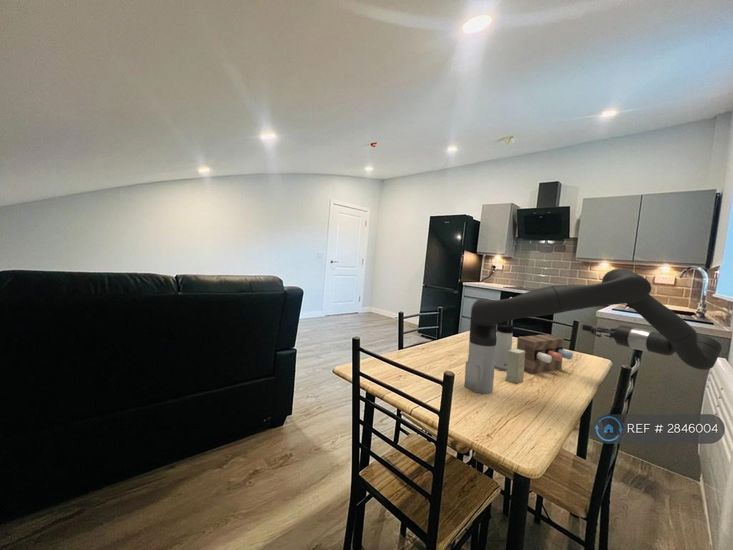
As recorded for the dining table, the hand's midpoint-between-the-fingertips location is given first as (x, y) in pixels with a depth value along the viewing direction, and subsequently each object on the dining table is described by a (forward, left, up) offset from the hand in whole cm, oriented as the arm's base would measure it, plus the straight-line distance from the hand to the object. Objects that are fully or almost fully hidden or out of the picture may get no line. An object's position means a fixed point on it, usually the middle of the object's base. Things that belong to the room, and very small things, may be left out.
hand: (583, 327), depth 121 cm
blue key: (0, +6, -15) cm, 16 cm away
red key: (-7, +6, -15) cm, 18 cm away
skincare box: (-30, +7, -22) cm, 38 cm away
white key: (-14, +6, -15) cm, 22 cm away
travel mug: (-24, +18, -22) cm, 37 cm away
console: (-7, +13, -22) cm, 26 cm away
